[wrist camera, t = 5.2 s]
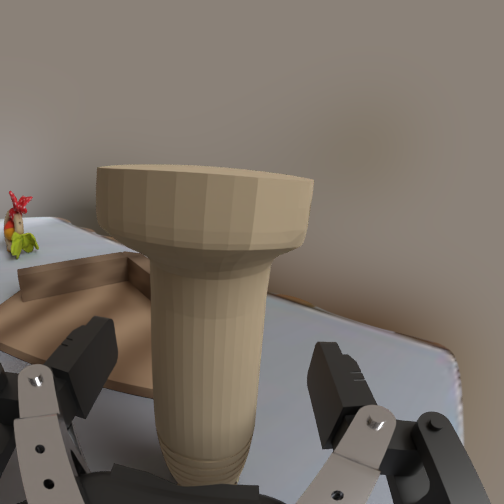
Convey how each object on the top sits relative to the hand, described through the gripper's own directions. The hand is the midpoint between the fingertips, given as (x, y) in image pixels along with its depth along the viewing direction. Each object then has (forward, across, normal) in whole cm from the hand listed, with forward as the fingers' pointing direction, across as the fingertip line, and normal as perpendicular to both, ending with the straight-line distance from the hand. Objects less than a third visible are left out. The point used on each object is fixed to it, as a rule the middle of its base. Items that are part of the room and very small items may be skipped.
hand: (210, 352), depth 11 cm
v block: (+14, +12, +8) cm, 21 cm away
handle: (-2, 0, +8) cm, 9 cm away
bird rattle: (+26, +37, +9) cm, 46 cm away
